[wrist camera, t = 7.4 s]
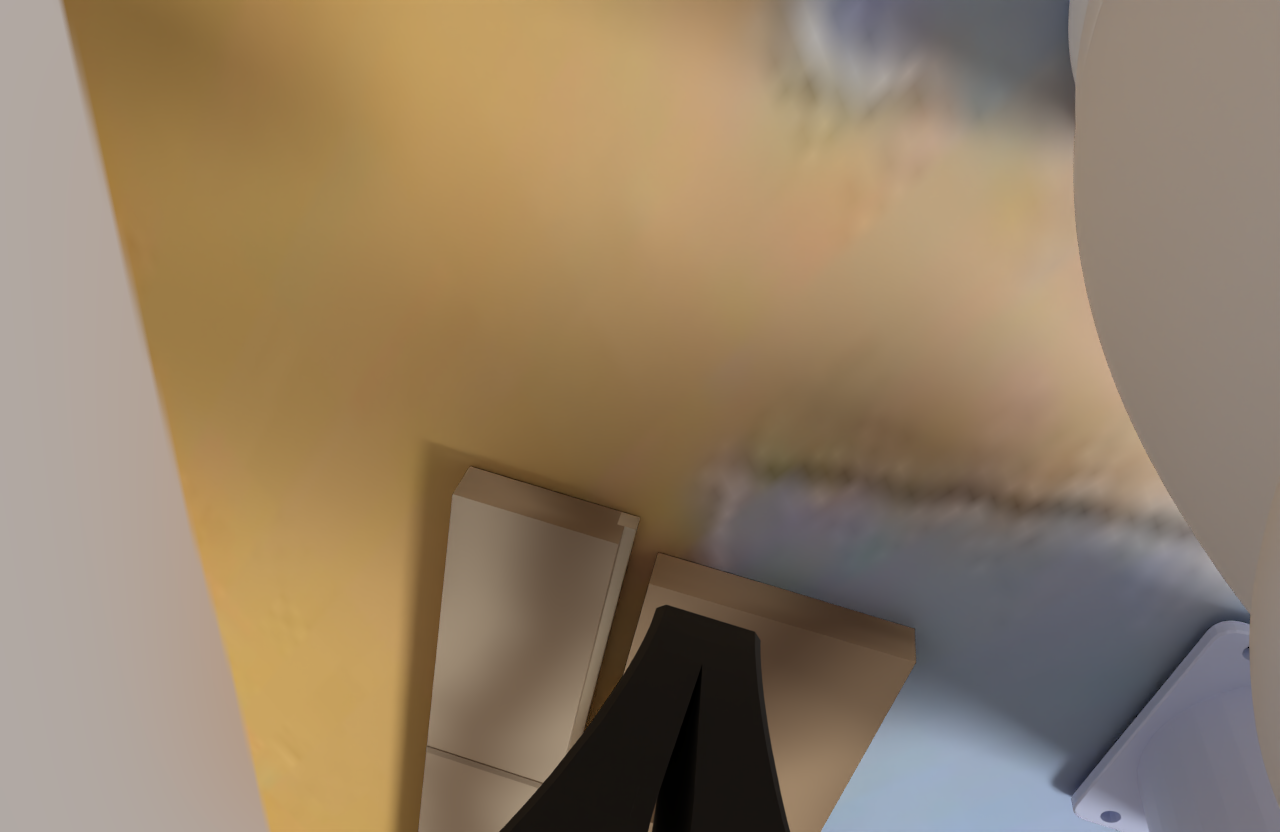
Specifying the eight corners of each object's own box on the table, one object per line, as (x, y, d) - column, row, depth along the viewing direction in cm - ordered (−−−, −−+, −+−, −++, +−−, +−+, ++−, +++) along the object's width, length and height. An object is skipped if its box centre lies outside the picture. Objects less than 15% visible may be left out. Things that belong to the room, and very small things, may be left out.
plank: (914, 627, 25) (916, 662, 24) (812, 814, 30) (810, 849, 29) (658, 552, 25) (649, 583, 24) (601, 750, 30) (592, 782, 29)
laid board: (640, 517, 25) (629, 549, 24) (537, 909, 37) (527, 941, 36) (469, 466, 25) (452, 494, 24) (423, 871, 37) (410, 902, 36)
